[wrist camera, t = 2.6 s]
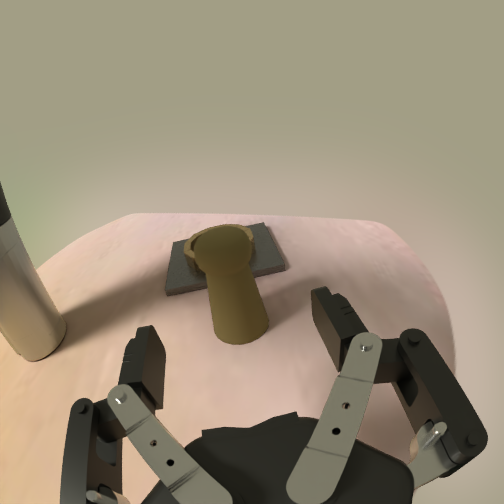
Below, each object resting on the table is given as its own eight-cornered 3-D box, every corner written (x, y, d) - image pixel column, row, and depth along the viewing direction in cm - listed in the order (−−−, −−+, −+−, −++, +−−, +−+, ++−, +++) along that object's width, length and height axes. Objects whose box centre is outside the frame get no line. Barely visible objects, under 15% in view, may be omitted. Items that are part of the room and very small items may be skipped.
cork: (235, 300, 34) (215, 215, 28) (279, 314, 31) (266, 222, 25) (202, 332, 30) (171, 244, 24) (248, 352, 27) (223, 256, 21)
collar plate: (167, 296, 37) (160, 277, 35) (174, 247, 49) (170, 232, 47) (285, 270, 38) (283, 250, 36) (264, 227, 50) (262, 211, 48)
